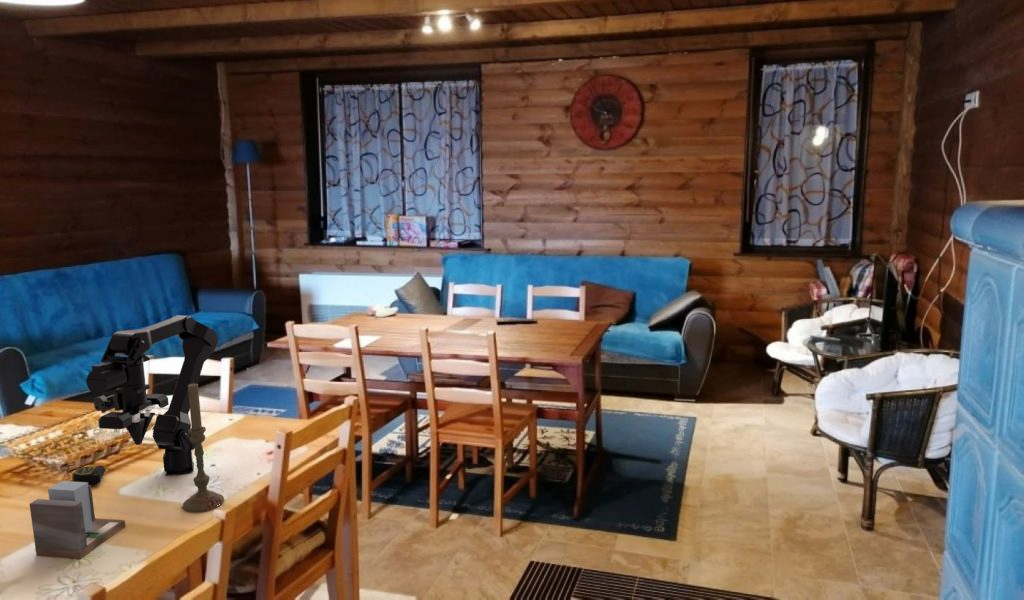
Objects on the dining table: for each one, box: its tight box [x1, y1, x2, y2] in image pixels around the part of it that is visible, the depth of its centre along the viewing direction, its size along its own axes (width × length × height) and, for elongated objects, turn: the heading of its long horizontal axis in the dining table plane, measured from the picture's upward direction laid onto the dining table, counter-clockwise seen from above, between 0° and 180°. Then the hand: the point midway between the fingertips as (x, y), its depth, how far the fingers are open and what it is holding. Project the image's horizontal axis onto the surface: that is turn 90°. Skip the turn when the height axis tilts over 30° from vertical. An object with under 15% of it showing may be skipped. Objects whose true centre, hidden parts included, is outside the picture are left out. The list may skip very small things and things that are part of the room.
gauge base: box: [29, 498, 126, 560], centre depth 156 cm, size 14×10×12 cm
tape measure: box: [71, 465, 107, 486], centre depth 186 cm, size 7×7×4 cm
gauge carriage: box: [47, 480, 99, 535], centre depth 155 cm, size 5×9×11 cm, turn 82°
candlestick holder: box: [182, 382, 225, 513], centre depth 172 cm, size 9×9×30 cm
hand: (138, 444), depth 180 cm, fingers closed
